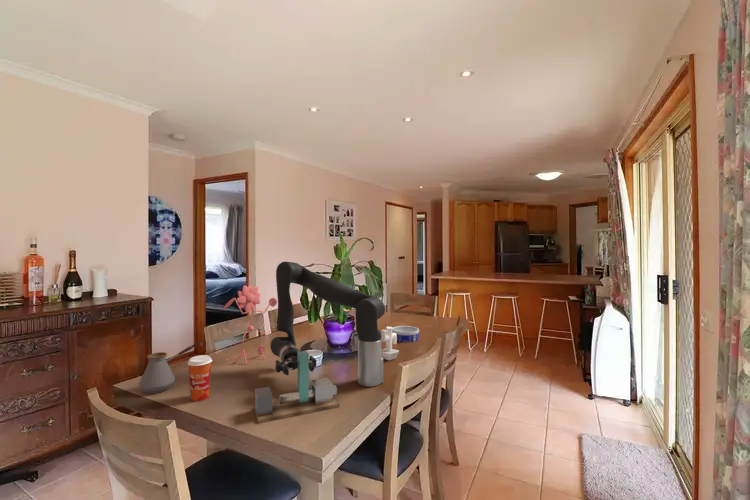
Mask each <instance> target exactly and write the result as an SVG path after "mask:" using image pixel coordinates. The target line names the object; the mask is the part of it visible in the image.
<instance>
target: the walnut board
mask: <svg viewBox="0 0 750 500" xmlns="http://www.w3.org/2000/svg"><path fill="white" fill-rule="evenodd" d="M253 407H254V408H253V409H254V413H255V416H256V420H257V424H261V423H265V422H267V423H268V422H270V421H276V420H280V419H285V418H286V419H287V418H289V417H296V416H299V415H305V414H310V413H315V412H321V411H324V410H330V409H335V408H340V403H339V402H338V400H337V398H336V397H335V395H333V402H328V403H322V404H317V405H315V398H314V399H309V401H307V402H302V403H299V401H298V402H292V403H287V404H282V405H280V400H279V399H278V400H272V414H270V415H265V416H260V417H257V413H256V409H255V404H254V405H253Z"/></svg>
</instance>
